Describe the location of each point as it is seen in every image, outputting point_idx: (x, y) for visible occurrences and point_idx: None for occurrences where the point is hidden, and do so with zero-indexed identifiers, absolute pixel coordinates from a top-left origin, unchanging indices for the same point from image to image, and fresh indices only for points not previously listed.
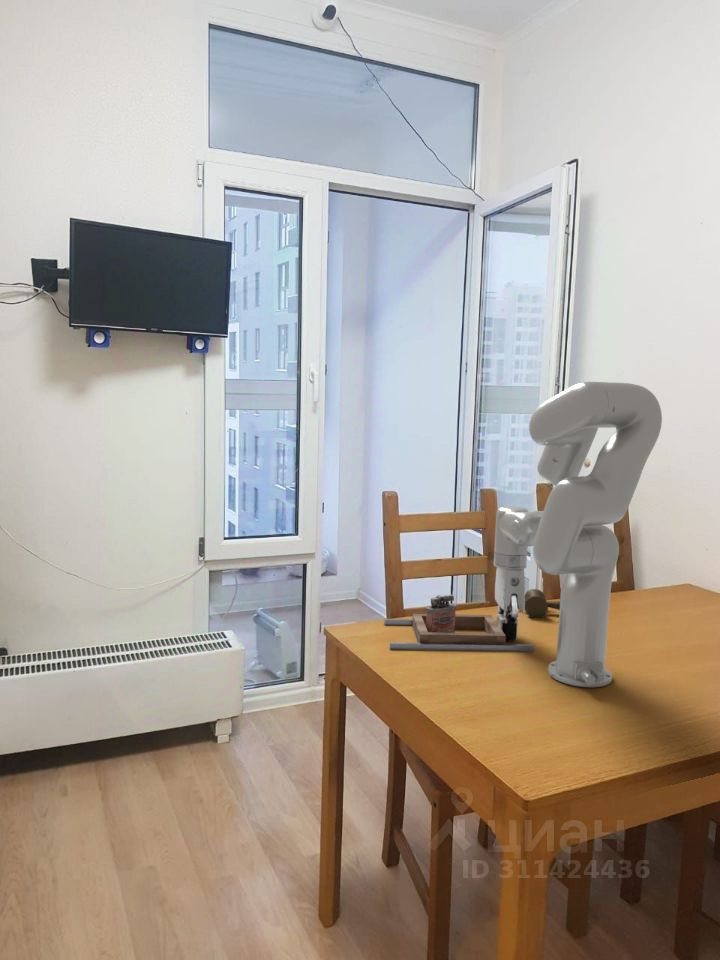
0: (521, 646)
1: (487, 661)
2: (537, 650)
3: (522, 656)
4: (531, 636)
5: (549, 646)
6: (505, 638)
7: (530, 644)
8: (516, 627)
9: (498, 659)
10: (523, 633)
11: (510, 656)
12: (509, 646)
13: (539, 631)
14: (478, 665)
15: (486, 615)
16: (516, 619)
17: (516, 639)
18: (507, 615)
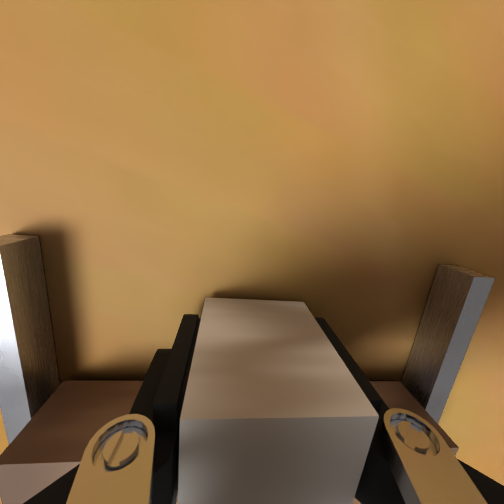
0: (468, 336)
1: (479, 452)
2: (438, 229)
3: (481, 325)
4: (213, 173)
5: (401, 127)
6: (443, 431)
7: (471, 285)
8: (335, 358)
9: (476, 417)
10: (153, 207)
11: (465, 371)
12: (446, 388)
13: (94, 56)
14: (498, 479)
15: (14, 494)
16: (459, 467)
17: (305, 305)
18: (224, 479)
